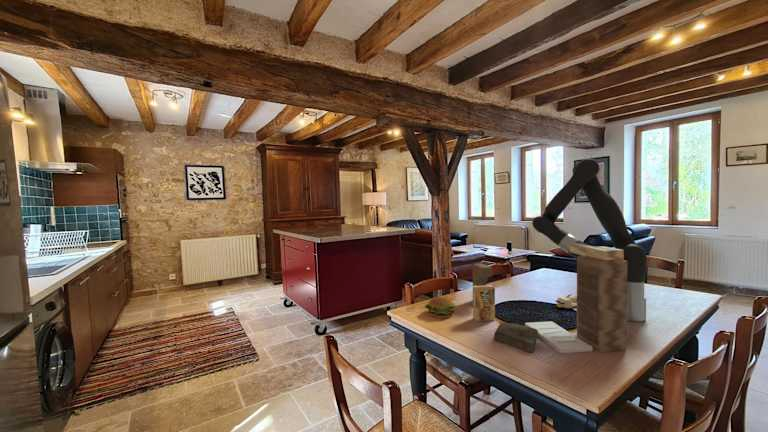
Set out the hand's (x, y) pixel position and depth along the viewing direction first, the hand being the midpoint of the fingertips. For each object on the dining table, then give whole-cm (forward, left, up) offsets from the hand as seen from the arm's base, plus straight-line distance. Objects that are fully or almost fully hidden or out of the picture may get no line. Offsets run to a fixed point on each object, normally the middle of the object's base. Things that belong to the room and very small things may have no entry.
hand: (609, 270), depth 131 cm
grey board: (+27, +6, -24) cm, 37 cm away
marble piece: (+43, +6, -25) cm, 50 cm away
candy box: (+47, -16, -24) cm, 55 cm away
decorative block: (+39, -38, -24) cm, 60 cm away
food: (+65, -26, -24) cm, 74 cm away
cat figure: (-6, -27, -24) cm, 37 cm away
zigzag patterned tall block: (+14, +13, -24) cm, 31 cm away
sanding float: (+14, +8, +8) cm, 18 cm away
